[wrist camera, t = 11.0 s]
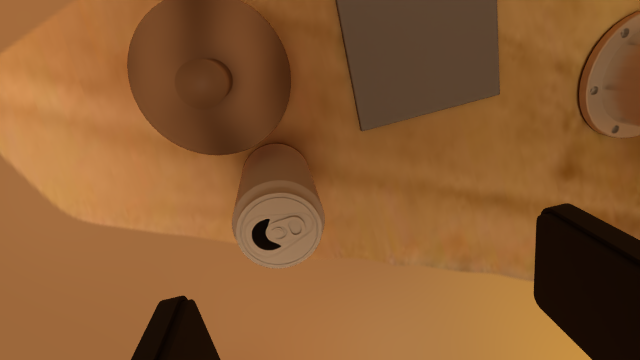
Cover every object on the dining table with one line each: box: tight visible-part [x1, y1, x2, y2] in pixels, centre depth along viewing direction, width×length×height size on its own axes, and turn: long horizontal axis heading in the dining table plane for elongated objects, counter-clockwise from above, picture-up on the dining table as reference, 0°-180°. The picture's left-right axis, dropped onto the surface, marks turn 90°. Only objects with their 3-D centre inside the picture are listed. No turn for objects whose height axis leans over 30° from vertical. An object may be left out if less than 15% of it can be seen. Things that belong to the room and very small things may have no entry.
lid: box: [127, 0, 291, 155], centre depth 22 cm, size 11×11×6 cm
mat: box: [336, 0, 500, 131], centre depth 31 cm, size 14×12×1 cm
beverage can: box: [232, 144, 325, 268], centre depth 28 cm, size 6×6×12 cm
